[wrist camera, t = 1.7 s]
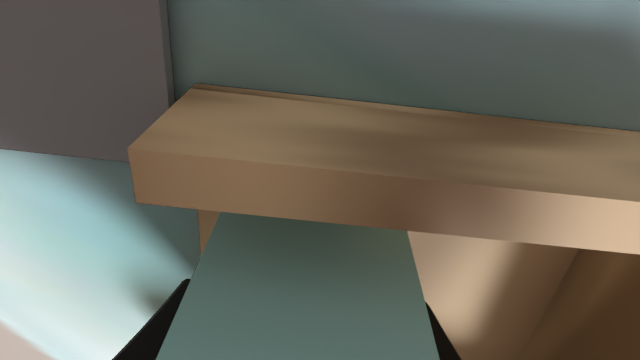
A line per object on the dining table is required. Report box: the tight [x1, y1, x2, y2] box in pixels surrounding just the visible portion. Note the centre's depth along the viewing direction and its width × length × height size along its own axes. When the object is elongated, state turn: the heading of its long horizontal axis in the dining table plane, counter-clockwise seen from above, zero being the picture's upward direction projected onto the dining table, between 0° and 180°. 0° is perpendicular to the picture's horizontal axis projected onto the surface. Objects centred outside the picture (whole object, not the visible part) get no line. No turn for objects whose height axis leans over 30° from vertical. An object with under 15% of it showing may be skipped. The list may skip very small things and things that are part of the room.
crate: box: [127, 83, 640, 360], centre depth 10 cm, size 11×10×3 cm
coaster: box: [0, 0, 175, 162], centre depth 8 cm, size 6×6×1 cm
